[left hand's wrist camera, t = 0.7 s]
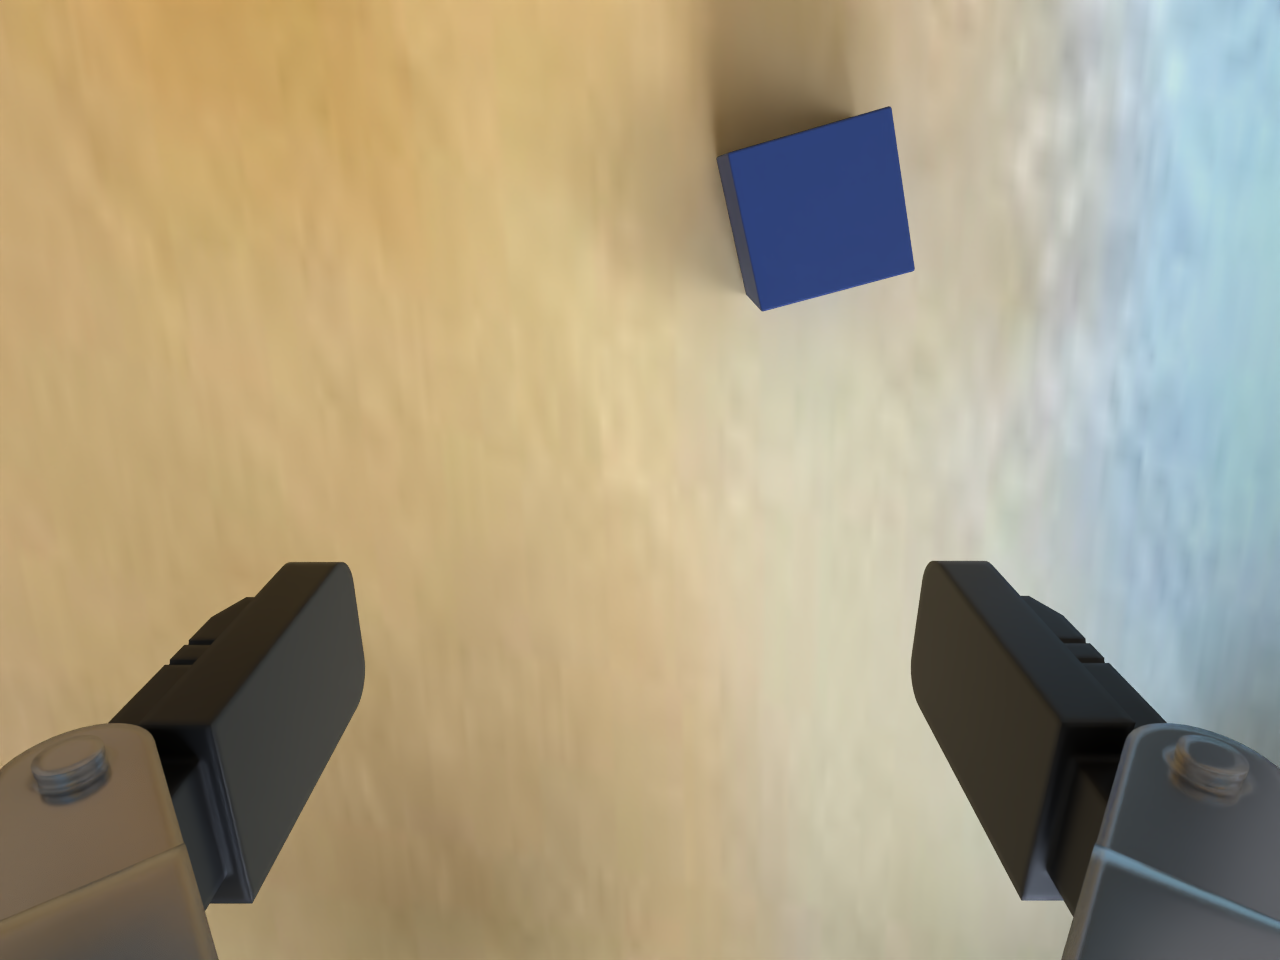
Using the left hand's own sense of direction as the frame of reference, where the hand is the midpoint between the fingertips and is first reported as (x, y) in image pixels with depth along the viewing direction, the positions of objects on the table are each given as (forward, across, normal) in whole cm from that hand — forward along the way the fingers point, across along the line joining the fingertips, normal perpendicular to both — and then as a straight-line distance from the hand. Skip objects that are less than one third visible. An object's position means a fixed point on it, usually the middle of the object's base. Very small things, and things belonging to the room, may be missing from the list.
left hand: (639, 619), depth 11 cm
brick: (+20, +6, +5) cm, 22 cm away
